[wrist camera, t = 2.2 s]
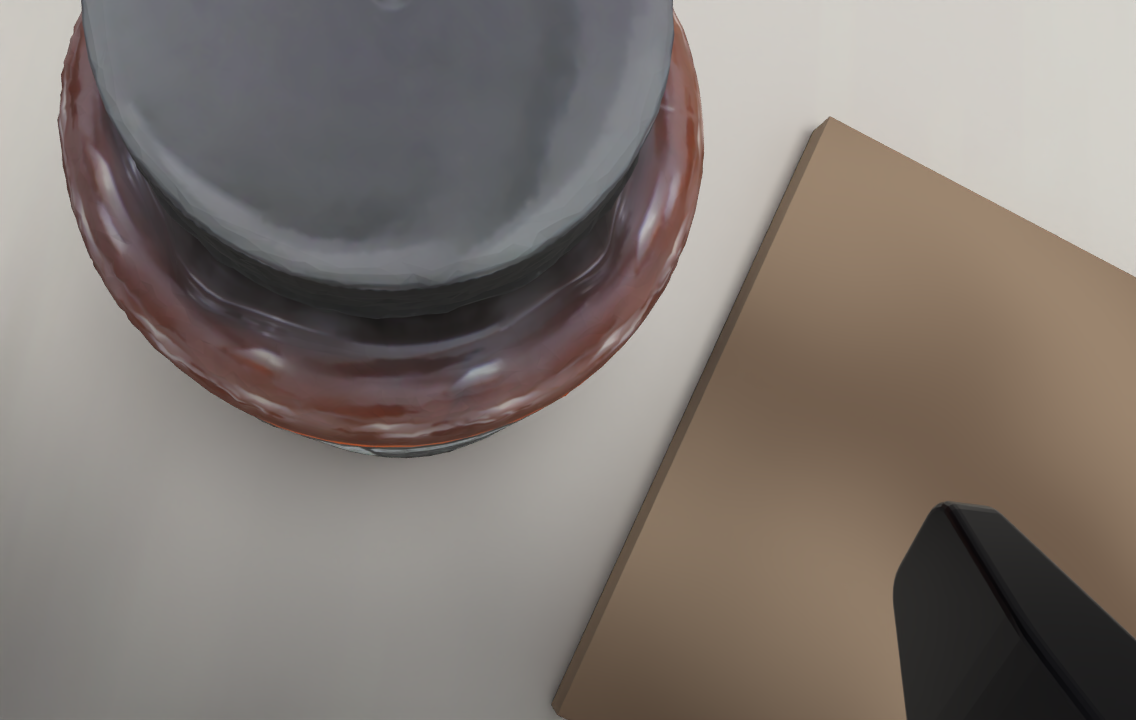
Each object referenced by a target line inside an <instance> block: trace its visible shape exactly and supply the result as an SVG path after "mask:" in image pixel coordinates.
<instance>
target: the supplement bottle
mask: <svg viewBox="0 0 1136 720" xmlns="http://www.w3.org/2000/svg"><path fill="white" fill-rule="evenodd" d="M81 5H82V12H81V14H80V16H79V18H78V20H77V22H76V24H75V26H74V34H73V35H72V37H71V39H70V44H69V48H68V52H67V55H66V58H65V60H64V68H63V71H62V74H61V81H62V91H61V94H60V96H61V100H60V113H59V116H58V119H57V121H58V128H59V135H60V142H61V149H62V161H63V169H64V173H65V177H66V183H67V190H68V194H69V197H70V202H71V207H72V210H73V212H74V215H75V217H76V220H77V224H78V228H79V230H80V232H81V235H82V238H83V241H84V243H85V246H86V248H87V251H88V253H89V256H90V258H91V259H92V261H93V265H94V267H95V269H96V270H97V272H98V273H99V275H100V276H101V278H102V280H103V282H104V284H105V286H106V287H107V289H108V290H109V292H110V294H111V295H112V297H113V298H114V300H115V301H116V303H117V304H118V306H119V307H120V308H121V309H122V310H123V311H125V313H126V315H127V317H128V319H129V320H130V322H131V323H132V324H133V325H134V326H135V327H136V328H137V329H138V330H140V332H141V333H142V334H143V335H144V336H145V338H146V339H147V340H148V341H149V342H150V344H151V345H152V346H153V347H154V348H155V349H156V350H157V351H159V352H160V353H161V354H162V355H164V356H165V357H166V358H168V359H169V360H170V361H171V362H172V363H173V364H174V365H175V366H176V367H178V368H179V369H180V370H181V371H183V372H184V373H185V374H187V375H188V376H189V377H191V378H192V379H193V380H195V381H196V382H197V383H199V384H200V385H201V386H203V387H204V388H205V389H207V390H208V391H209V392H211V393H213V394H214V395H216V396H218V397H219V398H221V399H223V400H224V401H226V402H228V403H229V404H231V405H233V406H234V407H236V408H238V409H240V410H242V411H244V412H246V413H248V414H250V415H253V416H255V417H256V418H258V419H259V420H261V421H262V422H264V423H267V424H270V425H272V426H274V427H277V428H280V429H283V430H286V431H289V432H292V433H296V434H299V435H301V436H304V437H307V438H311V439H314V440H317V441H320V442H323V443H326V444H330V445H332V446H335V447H338V448H341V449H345V450H349V451H353V452H357V453H362V454H367V455H375V456H382V457H399V458H412V457H423V456H431V455H436V454H440V453H444V452H450V451H453V450H455V449H457V448H460V447H463V446H467V445H469V444H472V443H474V442H477V441H479V440H482V439H484V438H487V437H489V436H490V435H492V434H494V433H496V432H498V431H500V430H502V429H504V428H505V427H507V426H509V425H512V424H513V423H516V422H518V421H520V420H522V419H524V418H525V417H527V416H529V415H531V414H533V413H535V412H537V411H539V410H541V409H542V408H544V407H546V406H548V405H550V404H552V403H553V402H555V401H557V400H558V399H560V398H562V397H564V396H566V395H567V394H568V393H569V392H570V391H572V390H573V389H574V388H576V387H577V386H579V385H580V384H582V383H583V382H584V381H585V380H586V379H588V378H589V377H590V376H591V375H592V374H594V373H595V372H596V371H597V370H599V369H600V368H601V367H602V366H603V365H604V364H605V363H606V362H607V361H608V360H609V359H610V358H611V357H612V356H613V355H614V354H615V353H616V352H617V351H618V350H619V349H620V348H621V347H622V346H623V345H624V344H625V343H626V342H627V341H628V339H629V338H630V337H631V336H632V335H633V334H634V333H635V331H636V330H637V329H638V327H639V326H640V325H641V324H642V322H643V321H644V320H645V318H646V317H647V315H648V314H649V312H650V311H651V309H652V308H653V306H654V305H655V303H656V302H657V300H658V299H659V297H660V296H661V294H662V293H663V291H664V290H665V288H666V286H667V284H668V282H669V280H670V278H671V275H672V273H673V271H674V269H675V268H676V266H677V262H678V259H679V256H680V254H681V252H682V250H683V248H684V246H685V244H686V241H687V237H688V234H689V231H690V227H691V224H692V220H693V217H694V214H695V210H696V205H697V199H698V194H699V189H700V184H701V179H702V173H703V157H704V136H703V119H702V108H701V99H700V92H699V86H698V80H697V75H696V71H695V68H694V64H693V58H692V55H691V51H690V48H689V44H688V41H687V38H686V35H685V32H684V29H683V27H682V25H681V23H680V22H679V20H678V18H677V16H676V14H675V12H674V9H673V0H81Z"/></svg>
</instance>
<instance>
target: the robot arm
mask: <svg viewBox="0 0 1136 720" xmlns="http://www.w3.org/2000/svg"><path fill="white" fill-rule="evenodd" d="M893 608H894V617H895V625H896V634H897V642H898V651H899V659H900V668H901V676H902V685H903V694H904V702H905V711H906V719H907V720H1136V639H1135V638H1134V637H1133V636H1132V635H1131V634H1130V633H1129V632H1128V631H1127V630H1126V629H1125V628H1123V627H1122V626H1121V625H1120V624H1119V623H1118V622H1117V621H1116V620H1115V619H1114V618H1113V617H1112V616H1111V615H1110V614H1109V613H1107V612H1106V611H1105V610H1104V609H1103V608H1102V607H1101V606H1100V605H1099V604H1098V603H1097V602H1096V601H1095V600H1094V599H1092V598H1091V597H1090V596H1089V595H1088V594H1087V593H1086V592H1085V591H1084V590H1083V589H1082V588H1081V587H1080V586H1079V585H1077V584H1076V583H1075V582H1074V581H1073V580H1072V579H1071V578H1070V577H1069V576H1068V575H1067V574H1066V573H1065V572H1064V571H1062V570H1061V569H1060V568H1059V567H1058V566H1057V565H1056V564H1055V563H1054V562H1053V561H1052V560H1051V559H1050V558H1049V557H1047V556H1046V555H1045V554H1044V553H1043V552H1042V551H1041V550H1040V549H1039V548H1038V547H1037V546H1036V545H1035V544H1034V543H1032V542H1031V541H1030V540H1029V539H1028V538H1027V537H1026V536H1025V535H1024V534H1023V533H1022V532H1021V531H1020V530H1019V529H1017V528H1016V527H1015V526H1014V525H1013V524H1012V523H1011V522H1010V521H1009V520H1008V519H1007V518H1006V517H1005V516H1004V515H1002V514H1001V513H1000V512H999V511H997V510H996V509H994V508H992V507H989V506H986V505H978V504H970V503H962V502H954V501H945V502H940V503H939V504H937V505H936V506H934V507H933V508H932V509H931V511H930V512H929V514H928V515H927V517H926V519H925V521H924V522H923V524H922V526H921V528H920V530H919V531H918V533H917V535H916V537H915V539H914V540H913V542H912V544H911V546H910V548H909V549H908V551H907V553H906V555H905V556H904V558H903V560H902V562H901V564H900V565H899V567H898V570H897V572H896V575H895V579H894V584H893Z"/></svg>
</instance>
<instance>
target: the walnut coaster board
mask: <svg viewBox="0 0 1136 720" xmlns="http://www.w3.org/2000/svg"><path fill="white" fill-rule="evenodd" d="M945 501H954V502H962V503H970V504H978V505H986V506H989V507H992V508H994V509H996V510H997V511H999V512H1000V513H1001V514H1002V515H1004V516H1005V517H1006V518H1007V519H1008V520H1009V521H1010V522H1011V523H1012V524H1013V525H1014V526H1015V527H1016V528H1017V529H1019V530H1020V531H1021V532H1022V533H1023V534H1024V535H1025V536H1026V537H1027V538H1028V539H1029V540H1030V541H1031V542H1032V543H1034V544H1035V545H1036V546H1037V547H1038V548H1039V549H1040V550H1041V551H1042V552H1043V553H1044V554H1045V555H1046V556H1047V557H1049V558H1050V559H1051V560H1052V561H1053V562H1054V563H1055V564H1056V565H1057V566H1058V567H1059V568H1060V569H1061V570H1062V571H1064V572H1065V573H1066V574H1067V575H1068V576H1069V577H1070V578H1071V579H1072V580H1073V581H1074V582H1075V583H1076V584H1077V585H1079V586H1080V587H1081V588H1082V589H1083V590H1084V591H1085V592H1086V593H1087V594H1088V595H1089V596H1090V597H1091V598H1092V599H1094V600H1095V601H1096V602H1097V603H1098V604H1099V605H1100V606H1101V607H1102V608H1103V609H1104V610H1105V611H1106V612H1107V613H1109V614H1110V615H1111V616H1112V617H1113V618H1114V619H1115V620H1116V621H1117V622H1118V623H1119V624H1120V625H1121V626H1122V627H1123V628H1125V629H1126V630H1127V631H1128V632H1129V633H1130V634H1131V635H1132V636H1133V637H1134V638H1135V639H1136V277H1134V276H1132V275H1130V274H1128V273H1126V272H1125V271H1123V270H1121V269H1119V268H1117V267H1115V266H1113V265H1111V264H1109V263H1107V262H1106V261H1104V260H1102V259H1100V258H1098V257H1096V256H1094V255H1092V254H1090V253H1088V252H1087V251H1085V250H1083V249H1081V248H1079V247H1077V246H1075V245H1073V244H1071V243H1069V242H1068V241H1066V240H1064V239H1062V238H1060V237H1058V236H1056V235H1054V234H1052V233H1051V232H1049V231H1047V230H1045V229H1043V228H1041V227H1039V226H1037V225H1035V224H1033V223H1032V222H1030V221H1028V220H1026V219H1024V218H1022V217H1020V216H1018V215H1016V214H1014V213H1013V212H1011V211H1009V210H1007V209H1005V208H1003V207H1001V206H999V205H997V204H995V203H994V202H992V201H990V200H988V199H986V198H984V197H982V196H980V195H978V194H976V193H975V192H973V191H971V190H969V189H967V188H965V187H963V186H961V185H959V184H957V183H956V182H954V181H952V180H950V179H948V178H946V177H944V176H942V175H940V174H938V173H937V172H935V171H933V170H931V169H929V168H927V167H925V166H923V165H921V164H919V163H918V162H916V161H914V160H912V159H910V158H908V157H906V156H904V155H902V154H900V153H899V152H897V151H895V150H893V149H891V148H889V147H887V146H885V145H883V144H882V143H880V142H878V141H876V140H874V139H872V138H870V137H868V136H866V135H864V134H863V133H861V132H859V131H857V130H855V129H853V128H851V127H849V126H847V125H845V124H844V123H842V122H840V121H838V120H836V119H834V118H832V117H829V118H828V119H826V120H825V121H824V122H823V123H822V124H821V125H820V126H819V127H817V128H816V129H815V130H814V131H813V133H812V135H811V137H810V139H809V142H808V144H807V146H806V148H805V150H804V153H803V155H802V157H801V159H800V161H799V163H798V166H797V168H796V170H795V172H794V174H793V177H792V179H791V181H790V183H789V185H788V188H787V190H786V192H785V194H784V196H783V199H782V201H781V203H780V205H779V207H778V209H777V212H776V214H775V216H774V218H773V220H772V223H771V225H770V227H769V229H768V231H767V234H766V236H765V238H764V240H763V242H762V244H761V247H760V249H759V251H758V253H757V255H756V258H755V260H754V262H753V264H752V266H751V269H750V271H749V273H748V275H747V277H746V279H745V282H744V284H743V286H742V288H741V290H740V293H739V295H738V297H737V299H736V301H735V304H734V306H733V308H732V310H731V312H730V314H729V317H728V319H727V321H726V323H725V325H724V328H723V330H722V332H721V334H720V336H719V339H718V341H717V343H716V345H715V347H714V349H713V352H712V354H711V356H710V358H709V360H708V363H707V365H706V367H705V369H704V371H703V374H702V376H701V378H700V380H699V382H698V385H697V387H696V389H695V391H694V393H693V395H692V398H691V400H690V402H689V404H688V406H687V409H686V411H685V413H684V415H683V417H682V420H681V422H680V424H679V426H678V428H677V430H676V433H675V435H674V437H673V439H672V441H671V444H670V446H669V448H668V450H667V452H666V455H665V457H664V459H663V461H662V463H661V465H660V468H659V470H658V472H657V474H656V476H655V479H654V481H653V483H652V485H651V487H650V490H649V492H648V494H647V496H646V498H645V500H644V503H643V505H642V507H641V509H640V511H639V514H638V516H637V518H636V520H635V522H634V525H633V527H632V529H631V531H630V533H629V535H628V538H627V540H626V542H625V544H624V546H623V549H622V551H621V553H620V555H619V557H618V560H617V562H616V564H615V566H614V568H613V571H612V573H611V575H610V577H609V579H608V581H607V584H606V586H605V588H604V590H603V592H602V595H601V597H600V599H599V601H598V603H597V606H596V608H595V610H594V612H593V614H592V616H591V619H590V621H589V623H588V625H587V627H586V630H585V632H584V634H583V636H582V638H581V641H580V643H579V645H578V647H577V649H576V651H575V654H574V656H573V658H572V660H571V662H570V665H569V667H568V669H567V671H566V673H565V676H564V678H563V680H562V682H561V684H560V686H559V689H558V691H557V693H556V695H555V697H554V700H553V702H552V704H551V705H552V707H553V709H554V710H555V712H556V713H557V715H559V716H561V717H563V718H565V719H567V720H907V719H906V711H905V702H904V694H903V685H902V676H901V668H900V659H899V651H898V642H897V634H896V625H895V617H894V608H893V584H894V579H895V575H896V572H897V570H898V567H899V565H900V564H901V562H902V560H903V558H904V556H905V555H906V553H907V551H908V549H909V548H910V546H911V544H912V542H913V540H914V539H915V537H916V535H917V533H918V531H919V530H920V528H921V526H922V524H923V522H924V521H925V519H926V517H927V515H928V514H929V512H930V511H931V509H932V508H933V507H934V506H936V505H937V504H939V503H940V502H945Z"/></svg>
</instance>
